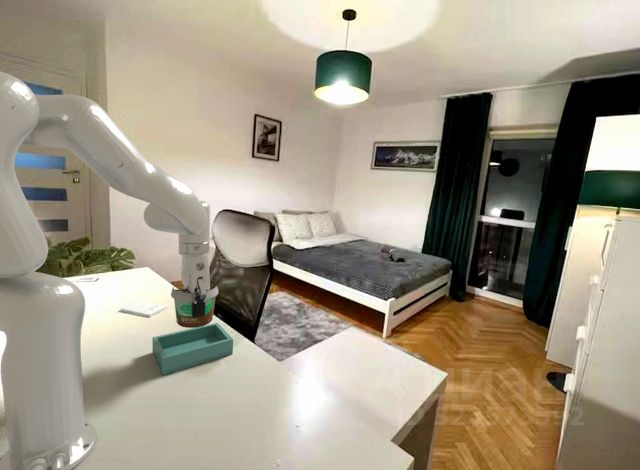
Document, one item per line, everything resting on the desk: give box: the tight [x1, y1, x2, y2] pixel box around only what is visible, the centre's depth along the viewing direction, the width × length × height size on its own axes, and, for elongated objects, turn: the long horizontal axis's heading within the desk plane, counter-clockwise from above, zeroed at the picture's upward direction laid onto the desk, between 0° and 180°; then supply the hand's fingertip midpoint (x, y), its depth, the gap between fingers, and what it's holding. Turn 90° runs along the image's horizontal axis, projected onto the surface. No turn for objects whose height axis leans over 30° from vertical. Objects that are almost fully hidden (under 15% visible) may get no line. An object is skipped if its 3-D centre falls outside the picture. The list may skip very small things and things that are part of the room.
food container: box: [170, 285, 219, 329], centre depth 82 cm, size 12×6×10 cm, turn 106°
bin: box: [152, 322, 234, 376], centre depth 84 cm, size 12×18×4 cm, turn 129°
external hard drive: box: [120, 300, 168, 318], centre depth 109 cm, size 2×8×12 cm
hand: (193, 310), depth 82 cm, fingers closed on food container, 7 cm apart
